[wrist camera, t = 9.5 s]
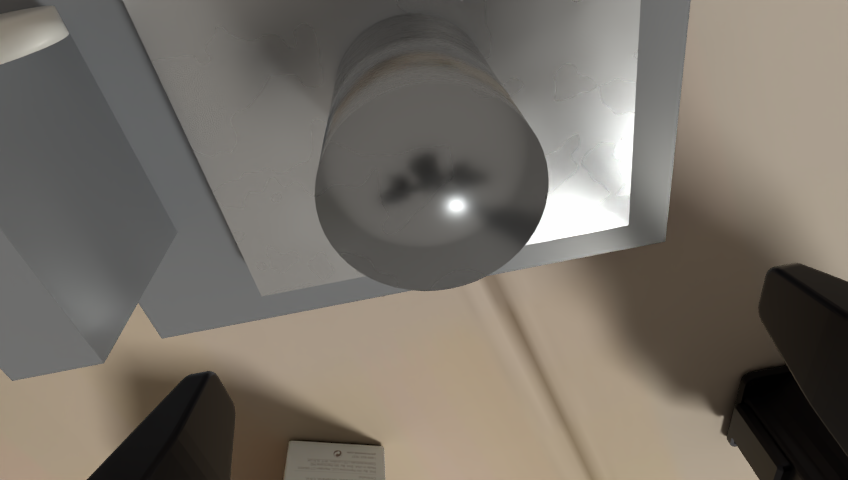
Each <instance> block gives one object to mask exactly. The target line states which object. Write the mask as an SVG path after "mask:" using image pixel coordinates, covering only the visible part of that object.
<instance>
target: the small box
mask: <svg viewBox="0 0 848 480" xmlns="http://www.w3.org/2000/svg"><path fill="white" fill-rule="evenodd" d="M283 480H385V457H384V447H383V446H373V445H356V444H339V443H324V442H307V441H289V443H288V451H287V457H286V464H285V470H284V477H283Z"/></svg>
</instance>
